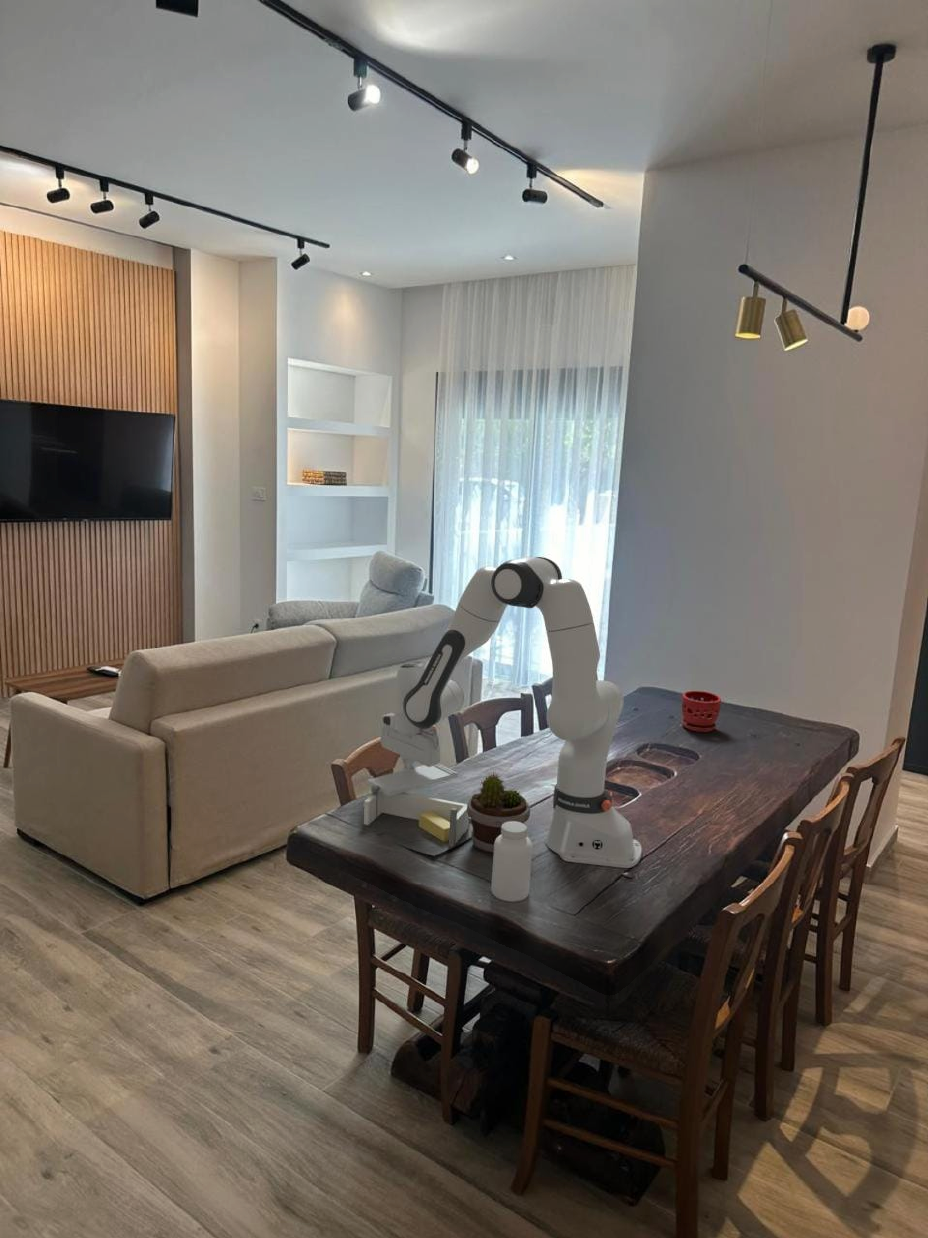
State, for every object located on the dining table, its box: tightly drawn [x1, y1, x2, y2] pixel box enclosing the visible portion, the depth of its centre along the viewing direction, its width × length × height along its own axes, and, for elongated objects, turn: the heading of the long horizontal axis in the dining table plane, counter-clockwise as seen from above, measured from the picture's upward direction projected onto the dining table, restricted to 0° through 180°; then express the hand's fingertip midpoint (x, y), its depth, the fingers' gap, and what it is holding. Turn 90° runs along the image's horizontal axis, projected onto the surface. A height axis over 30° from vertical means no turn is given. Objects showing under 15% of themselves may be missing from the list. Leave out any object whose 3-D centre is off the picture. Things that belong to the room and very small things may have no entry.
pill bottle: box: [490, 821, 533, 903], centre depth 172 cm, size 8×8×15 cm
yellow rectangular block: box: [418, 811, 450, 842], centre depth 200 cm, size 10×3×3 cm, turn 39°
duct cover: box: [367, 763, 459, 796], centre depth 212 cm, size 24×9×1 cm, turn 131°
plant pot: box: [681, 690, 722, 733], centre depth 289 cm, size 13×13×12 cm
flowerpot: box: [466, 771, 531, 856], centre depth 192 cm, size 14×15×20 cm
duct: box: [363, 791, 471, 847], centre depth 201 cm, size 24×11×9 cm, turn 71°
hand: (409, 772), depth 219 cm, fingers closed
